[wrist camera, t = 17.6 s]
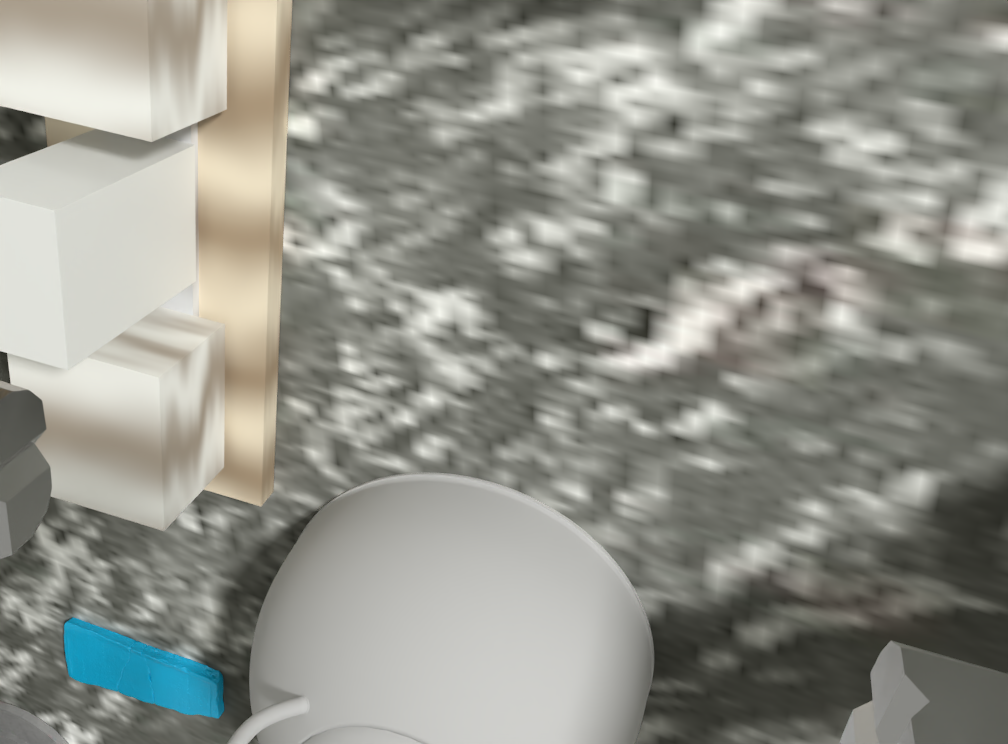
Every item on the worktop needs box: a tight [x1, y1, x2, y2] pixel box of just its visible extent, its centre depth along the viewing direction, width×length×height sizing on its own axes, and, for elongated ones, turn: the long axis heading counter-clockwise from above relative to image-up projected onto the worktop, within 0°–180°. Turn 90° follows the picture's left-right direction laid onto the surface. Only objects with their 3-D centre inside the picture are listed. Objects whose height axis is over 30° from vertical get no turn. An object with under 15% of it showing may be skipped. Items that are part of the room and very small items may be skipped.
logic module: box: [0, 129, 196, 370], centre depth 43 cm, size 5×7×10 cm, turn 171°
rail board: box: [0, 0, 292, 531], centre depth 45 cm, size 34×12×8 cm, turn 171°
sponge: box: [64, 618, 224, 718], centre depth 67 cm, size 2×12×6 cm
